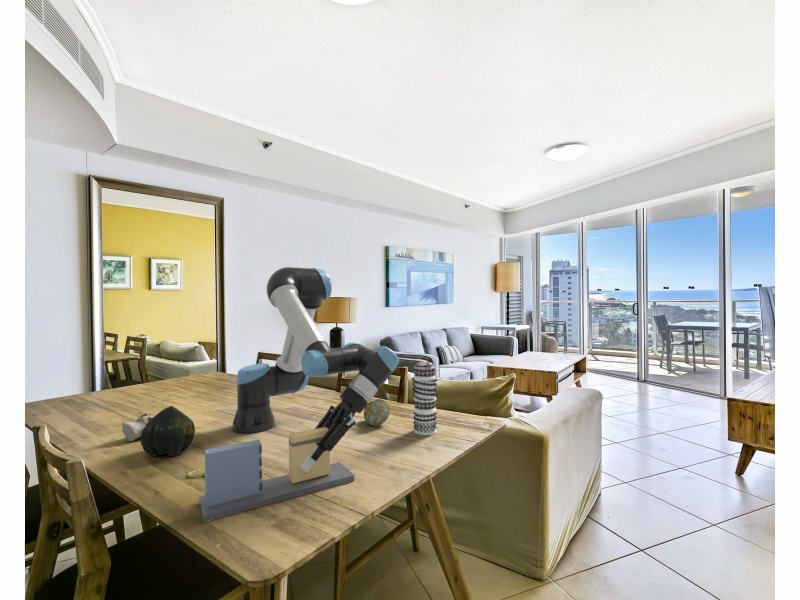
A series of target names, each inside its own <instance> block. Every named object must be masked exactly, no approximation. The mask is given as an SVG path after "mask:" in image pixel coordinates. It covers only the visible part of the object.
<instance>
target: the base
mask: <svg viewBox="0 0 800 600" xmlns="http://www.w3.org/2000/svg"><path fill="white" fill-rule="evenodd" d="M351 482H355V474H354V473H353V472H352V471H351V470H350V469H348V468H347V467H346V466H345V465H344V464H342V463H341V462H340V461H337V462H333V463H330V474H328V475H324V476H320V477H316V478H312V479H308V480H305V481H301V482H297V483H292V482H291V481H290V479H289V473H288V474H284V475H280V476H276V477H271V478H268V479H263V480H262V493H259V494H255V495H252V496H248V497H244V498H240V499H236V500H232V501H229V502H225V503H221V504H217V505H213V506H209V507H207V506H206V502H205V494H203V495H199V496H198V498H199V499H198V503H199V502H200V504H199V508H200V507H201V509H200V513H202V514H201V517H202V518H203V519H202V522H204V523H206V522H205V521H207V522H209V521H208V520H211V521H213V520H212V519H215V520H217V519H216V518H218V519H221V518H220V517H222V518H225V517H228V515H229V516H231V515H232V514H233V515H236V514H239V512H240V513H243V512H246V510H247V511H249V510H250V509H251V510H254V509H257V507H258V508H261V507H264V505H265V506H269V505H272V504H275V502H276V503H279V502H283V501H286V500H290V499H294V498H298V497H301V496H304V495H308V494H311V493H314V492H317V491H318V492H319V491H322V490H325V489H329V488H332V487H336V486H340V485H344V484H347V483H351ZM268 504H269V505H268ZM253 508H254V509H253ZM251 510H250V511H251ZM242 511H243V512H242ZM235 513H236V514H235ZM224 516H225V517H224Z"/></svg>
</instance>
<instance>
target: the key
mask: <svg viewBox="0 0 800 600" xmlns="http://www.w3.org/2000/svg"><path fill="white" fill-rule="evenodd" d="M204 468H205V466H204V467H201V469H204ZM198 470H200V468H198ZM195 471H197V469H195V470H192V471H190V472H188V473H187V477H188V476H190V477H196V476H200V475H204V476H205V470H202V471H199V472H196V473H194V474H191V473H193V472H195Z"/></svg>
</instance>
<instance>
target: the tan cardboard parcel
mask: <svg viewBox="0 0 800 600" xmlns="http://www.w3.org/2000/svg"><path fill="white" fill-rule="evenodd" d="M328 430H329V429H328V428H326V427H323V428H317V429H315V428H313V429H308V430H302V431H296V432H292V433H288V474H289V479H290V481H291V482H292V483H297V482H301V481H305V480H308V479H312V478H316V477H320V476H324V475H328V474H330V464H331V457H330V456H331V454H330V453H331V451H330V452H329V451H328V450H327V451H324V452H323V453H322V455H321V456H320V457H319V458H318V460H317V461H316V462H315V464H314V465H313V466H312V467H311V469H310V470H309V471H308V472H305V471H304V470H303V469H302V468H300V467H299V465H300V464H301V463H302V462H303V460H304V459H305V458H306V457H307V455H308V454H309V453H310V451H311V450H312V449H313V448H314V446H315V445H317V444H316V443H317V442H318V443H320V442H321V440H322V439H323V437H324V436H325V434H326V433H327V431H328Z"/></svg>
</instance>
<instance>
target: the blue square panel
mask: <svg viewBox="0 0 800 600" xmlns="http://www.w3.org/2000/svg"><path fill="white" fill-rule="evenodd" d="M262 449H263V447H262V442H261V441H260V440H259V439H256V440H250V441H244V442H239V443H233V444H229V445H224V446H218V447H212V448H209V449H204V467H205V470H204V471H205V477H204V487H205V489H204V492H205V493H204V495H205V502H206V506H207V507H209V506H213V505H217V504H221V503H225V502H229V501H232V500H236V499H240V498H244V497H248V496H252V495H255V494H259V493H262V481H263V480H262V479H263V470H262V466H263V458H262V453H263V452H262V451H263V450H262Z"/></svg>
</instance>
